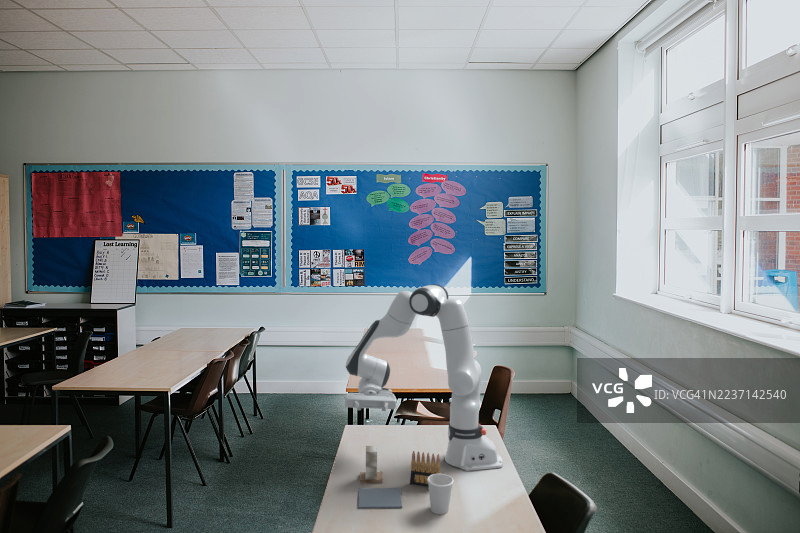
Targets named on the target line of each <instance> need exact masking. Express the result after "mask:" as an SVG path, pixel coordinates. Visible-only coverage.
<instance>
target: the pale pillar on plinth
mask: <svg viewBox="0 0 800 533" xmlns="http://www.w3.org/2000/svg"><path fill="white" fill-rule="evenodd" d="M359 484H383V472H382V471H378V446H377V445H365V471H361V472H359Z"/></svg>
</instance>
